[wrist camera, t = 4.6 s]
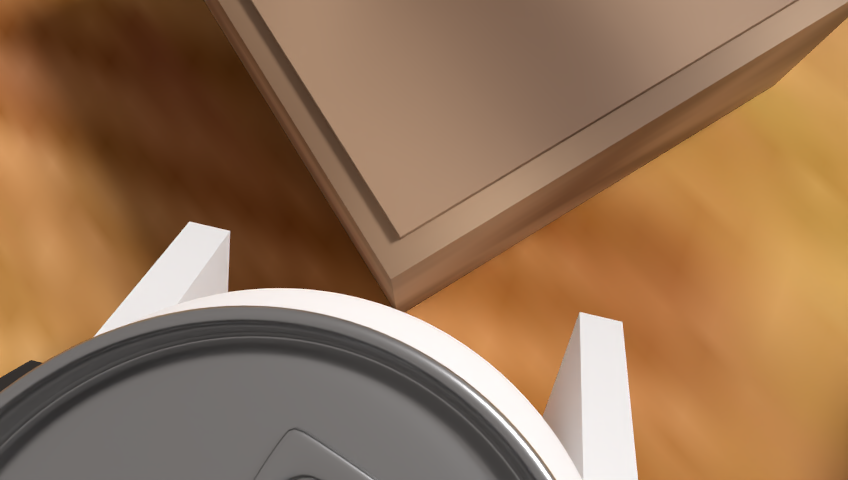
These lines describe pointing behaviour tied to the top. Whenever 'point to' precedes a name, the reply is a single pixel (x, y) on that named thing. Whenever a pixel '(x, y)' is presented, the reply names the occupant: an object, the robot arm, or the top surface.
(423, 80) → the pedestal
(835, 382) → the top surface
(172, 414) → the can
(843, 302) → the top surface
